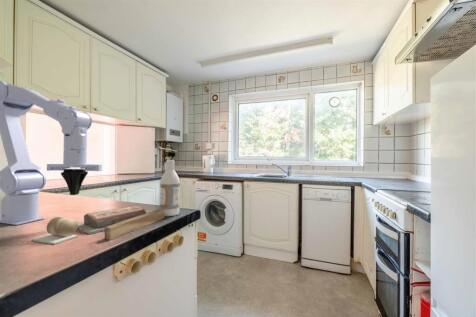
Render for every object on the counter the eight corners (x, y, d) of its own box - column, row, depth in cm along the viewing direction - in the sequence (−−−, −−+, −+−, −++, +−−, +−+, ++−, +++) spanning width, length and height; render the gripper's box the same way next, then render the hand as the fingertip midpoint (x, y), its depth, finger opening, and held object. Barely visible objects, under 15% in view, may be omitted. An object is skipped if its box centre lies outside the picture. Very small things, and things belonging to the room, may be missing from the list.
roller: (45, 235, 57) (47, 218, 58) (63, 232, 62) (65, 216, 62) (59, 238, 56) (61, 220, 56) (76, 234, 60) (78, 217, 61)
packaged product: (134, 203, 81) (150, 207, 75) (134, 217, 81) (150, 222, 75) (75, 212, 67) (89, 218, 61) (75, 229, 67) (89, 236, 61)
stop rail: (104, 238, 58) (104, 227, 58) (159, 217, 79) (159, 209, 79) (110, 239, 57) (110, 228, 57) (164, 218, 78) (164, 209, 78)
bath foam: (156, 214, 84) (157, 160, 84) (173, 211, 89) (174, 160, 89) (165, 217, 79) (166, 160, 79) (182, 214, 84) (183, 160, 84)
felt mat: (32, 240, 56) (32, 238, 56) (56, 233, 61) (56, 231, 61) (54, 244, 54) (54, 242, 54) (78, 236, 59) (78, 235, 59)
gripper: (39, 148, 64) (38, 196, 64) (94, 150, 66) (93, 196, 66) (56, 149, 71) (55, 192, 71) (105, 150, 73) (104, 192, 73)
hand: (74, 194), depth 69 cm, fingers closed
